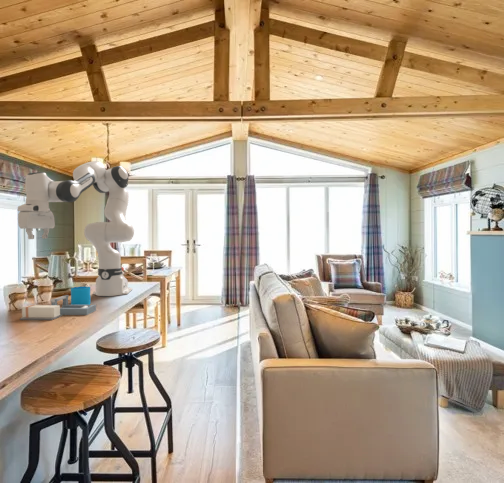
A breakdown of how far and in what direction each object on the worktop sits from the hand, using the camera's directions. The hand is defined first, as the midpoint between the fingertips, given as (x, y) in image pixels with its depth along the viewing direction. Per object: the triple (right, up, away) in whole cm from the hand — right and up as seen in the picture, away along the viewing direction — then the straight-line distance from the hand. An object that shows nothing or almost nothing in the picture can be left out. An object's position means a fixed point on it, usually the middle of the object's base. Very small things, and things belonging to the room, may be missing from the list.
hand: (38, 238), depth 160 cm
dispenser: (+21, -31, -9) cm, 39 cm away
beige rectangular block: (+12, -31, -17) cm, 37 cm away
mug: (+16, -31, +8) cm, 36 cm away
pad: (+12, -32, -17) cm, 38 cm away
